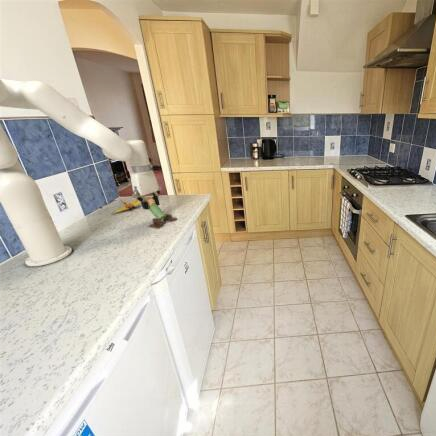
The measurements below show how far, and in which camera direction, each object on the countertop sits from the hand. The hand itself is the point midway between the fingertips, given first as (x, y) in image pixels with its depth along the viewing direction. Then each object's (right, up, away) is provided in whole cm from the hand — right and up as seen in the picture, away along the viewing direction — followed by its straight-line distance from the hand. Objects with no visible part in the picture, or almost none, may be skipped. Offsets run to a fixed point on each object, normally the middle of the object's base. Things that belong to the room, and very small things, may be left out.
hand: (151, 206), depth 115 cm
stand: (+5, -8, +1) cm, 9 cm away
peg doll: (+5, -5, 0) cm, 7 cm away
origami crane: (-23, -1, +20) cm, 30 cm away
